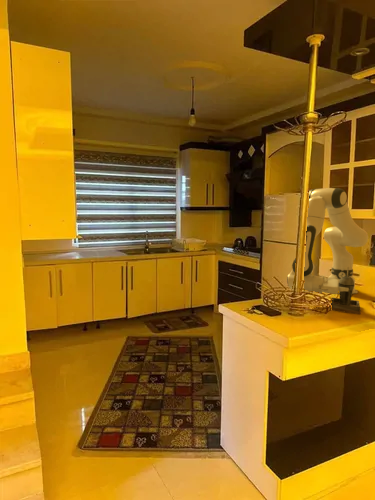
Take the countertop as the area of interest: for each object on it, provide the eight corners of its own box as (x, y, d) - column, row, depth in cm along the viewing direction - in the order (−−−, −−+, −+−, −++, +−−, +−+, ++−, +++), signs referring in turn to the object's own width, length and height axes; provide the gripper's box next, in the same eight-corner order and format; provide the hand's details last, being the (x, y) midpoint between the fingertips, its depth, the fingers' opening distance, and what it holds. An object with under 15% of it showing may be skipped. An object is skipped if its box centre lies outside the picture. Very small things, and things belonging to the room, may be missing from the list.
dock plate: (330, 303, 189) (330, 297, 188) (359, 306, 183) (359, 300, 183) (329, 310, 176) (330, 304, 175) (360, 314, 170) (361, 307, 170)
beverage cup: (336, 306, 178) (339, 267, 175) (337, 303, 184) (340, 265, 181) (351, 309, 174) (355, 269, 172) (353, 305, 181) (356, 267, 178)
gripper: (318, 282, 173) (349, 285, 168) (320, 275, 192) (348, 277, 186) (317, 295, 174) (348, 298, 169) (319, 286, 193) (347, 289, 187)
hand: (348, 287), depth 178 cm, fingers closed on beverage cup, 7 cm apart
